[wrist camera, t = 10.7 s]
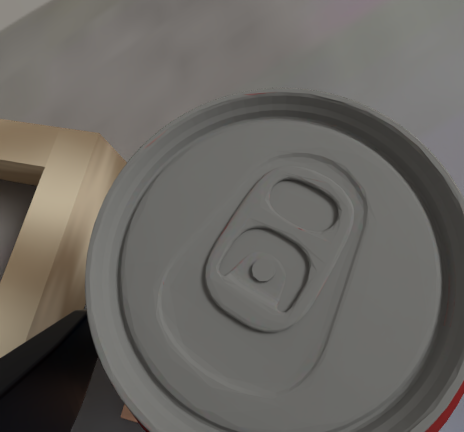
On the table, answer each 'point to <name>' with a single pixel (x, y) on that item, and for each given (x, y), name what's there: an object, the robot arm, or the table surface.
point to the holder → (51, 223)
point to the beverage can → (281, 272)
